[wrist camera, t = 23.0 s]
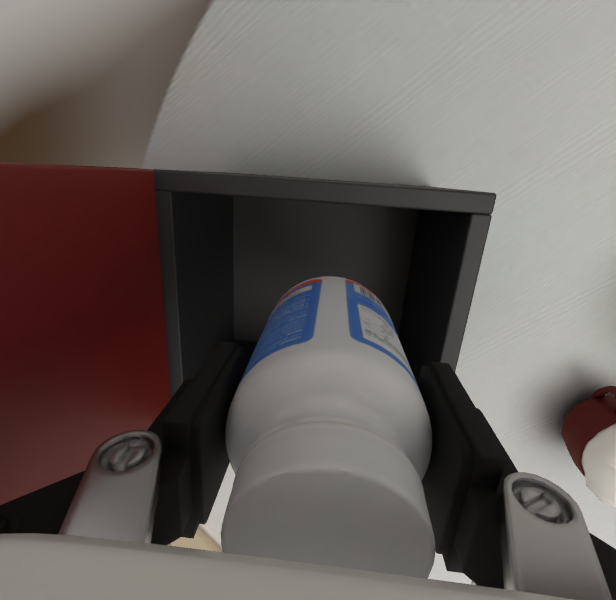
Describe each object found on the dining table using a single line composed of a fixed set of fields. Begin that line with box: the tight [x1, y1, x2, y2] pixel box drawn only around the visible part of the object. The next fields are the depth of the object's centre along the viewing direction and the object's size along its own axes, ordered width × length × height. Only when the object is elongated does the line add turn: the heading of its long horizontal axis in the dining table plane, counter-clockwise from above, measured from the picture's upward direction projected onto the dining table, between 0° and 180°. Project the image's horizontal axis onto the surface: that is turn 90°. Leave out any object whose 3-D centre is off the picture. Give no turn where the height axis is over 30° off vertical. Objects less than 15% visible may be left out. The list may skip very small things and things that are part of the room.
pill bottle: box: [221, 276, 435, 579], centre depth 11 cm, size 6×5×10 cm
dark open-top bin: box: [153, 169, 496, 398], centre depth 20 cm, size 14×13×10 cm
